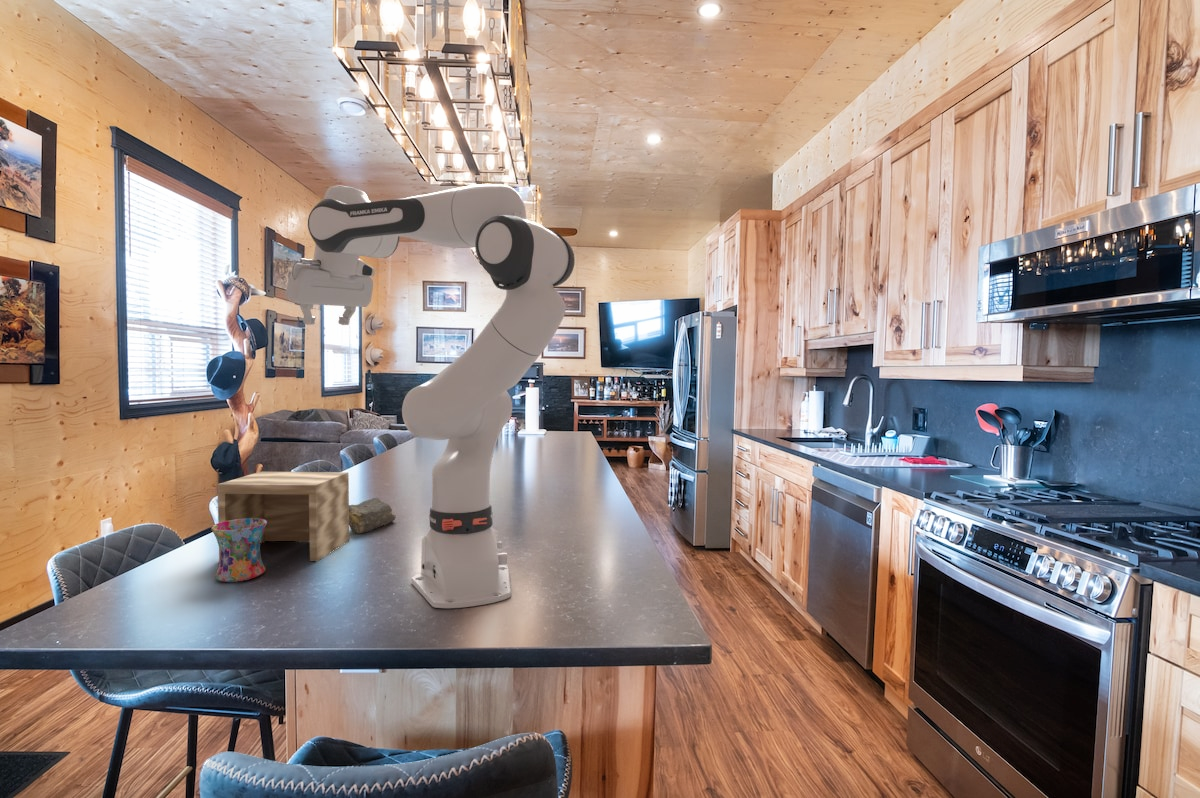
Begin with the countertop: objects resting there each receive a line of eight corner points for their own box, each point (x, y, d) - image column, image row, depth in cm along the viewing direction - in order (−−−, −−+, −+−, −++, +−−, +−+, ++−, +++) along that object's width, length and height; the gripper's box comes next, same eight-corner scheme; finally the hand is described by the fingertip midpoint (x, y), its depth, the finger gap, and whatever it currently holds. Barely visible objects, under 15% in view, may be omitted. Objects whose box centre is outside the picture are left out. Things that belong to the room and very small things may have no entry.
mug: (253, 585, 111) (252, 530, 110) (201, 586, 110) (200, 530, 109) (282, 564, 123) (281, 514, 122) (236, 565, 122) (235, 514, 121)
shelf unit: (316, 562, 124) (315, 485, 123) (219, 560, 124) (217, 484, 124) (349, 540, 139) (348, 472, 139) (262, 539, 140) (261, 471, 139)
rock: (378, 518, 143) (340, 507, 143) (372, 544, 144) (333, 533, 144) (404, 500, 160) (370, 490, 160) (399, 523, 161) (364, 513, 161)
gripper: (305, 260, 116) (295, 328, 119) (381, 270, 135) (371, 328, 138) (283, 253, 118) (274, 319, 121) (360, 264, 137) (351, 321, 140)
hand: (326, 324), depth 130 cm, fingers open, 8 cm apart
